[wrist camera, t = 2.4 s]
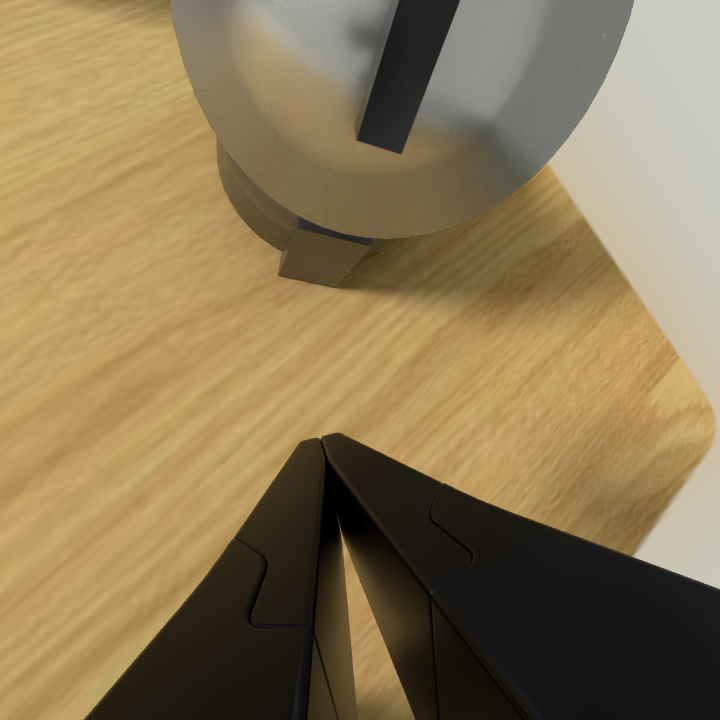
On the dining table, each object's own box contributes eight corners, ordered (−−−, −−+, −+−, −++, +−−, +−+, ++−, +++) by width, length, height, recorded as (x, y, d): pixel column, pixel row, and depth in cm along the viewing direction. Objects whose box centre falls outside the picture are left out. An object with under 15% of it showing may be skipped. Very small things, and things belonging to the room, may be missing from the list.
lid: (480, 255, 18) (493, 284, 17) (170, 174, 15) (156, 203, 13) (743, -181, 10) (812, -194, 9) (184, -589, 7) (152, -716, 5)
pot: (404, 302, 24) (466, 265, 18) (195, 258, 21) (184, 194, 15) (424, 108, 26) (487, 13, 20) (236, 41, 23) (241, -96, 17)
